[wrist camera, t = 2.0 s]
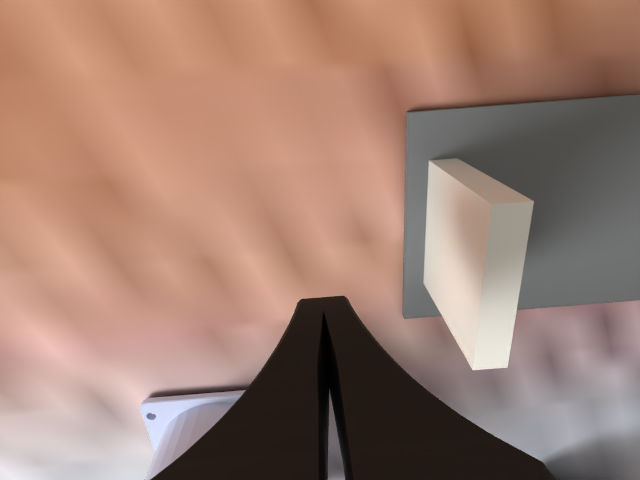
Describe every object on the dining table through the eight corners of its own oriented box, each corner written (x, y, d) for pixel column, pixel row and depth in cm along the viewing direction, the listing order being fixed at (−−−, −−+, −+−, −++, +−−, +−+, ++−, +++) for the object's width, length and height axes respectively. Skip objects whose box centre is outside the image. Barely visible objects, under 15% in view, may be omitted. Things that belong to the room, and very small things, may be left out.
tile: (450, 280, 19) (511, 367, 13) (423, 283, 19) (472, 370, 13) (460, 157, 16) (539, 200, 11) (428, 160, 16) (491, 204, 11)
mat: (651, 294, 20) (658, 298, 20) (402, 314, 20) (404, 318, 20) (717, 88, 16) (727, 88, 16) (406, 111, 16) (408, 112, 16)
